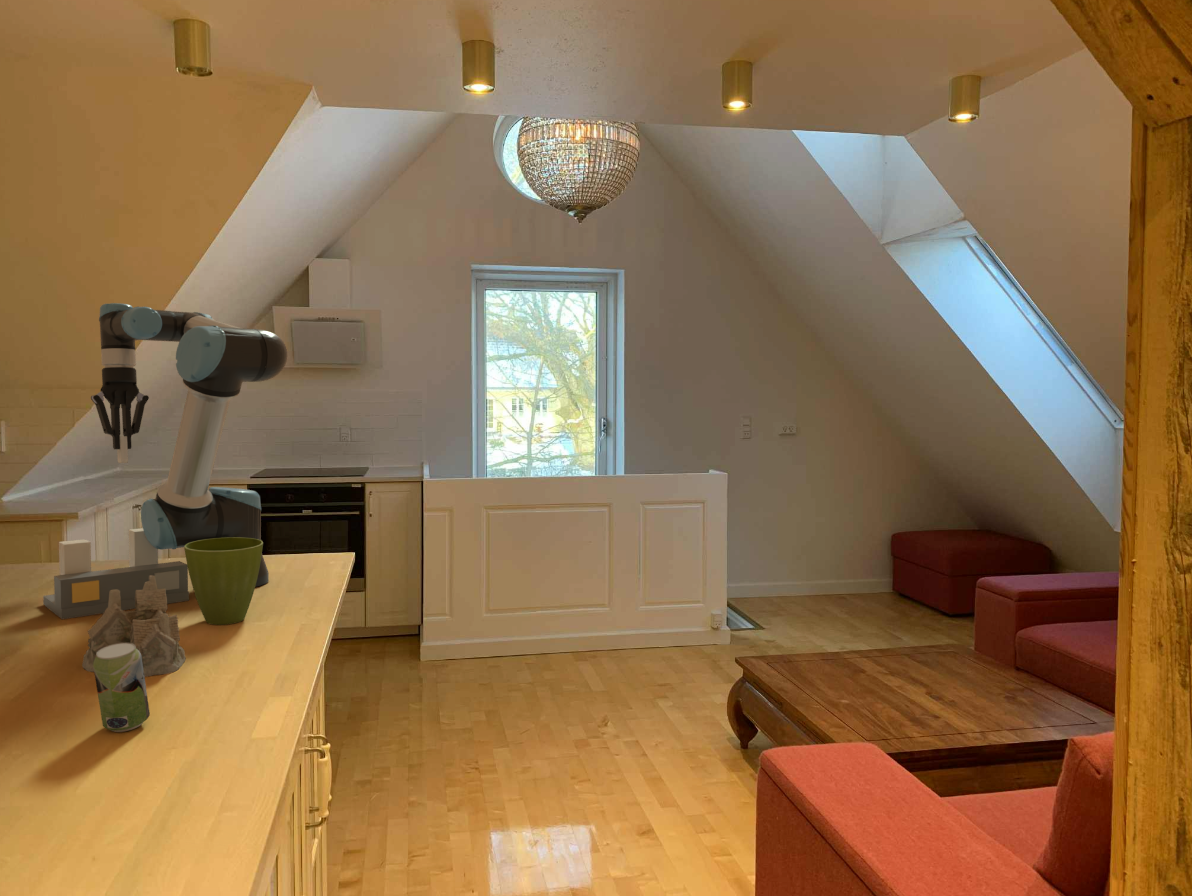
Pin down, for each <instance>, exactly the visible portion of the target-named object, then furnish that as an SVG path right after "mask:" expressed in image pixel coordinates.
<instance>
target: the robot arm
mask: <svg viewBox="0 0 1192 896" xmlns="http://www.w3.org/2000/svg"><path fill="white" fill-rule="evenodd" d="M98 317H99V318H98V321H99V331H100V332H99V335H100V349H101V350H100V354H101V357H100V359H101V366H103V368H101V381H102V385H101V388H100V391H99V392H98V393H96V394H94V395H91V396H90V399H91V401H92V402H93V404H94V405H95V407H96V411H97V414H98V417H99V420H100V424H101V427H102V430H103V433H104V434H105V435H109V436H111V437H112V448H113V450H116V451H117V453H116V454H117V455H116V456H117V463H118V464H125V463H126V464H128V463H129V455H128V454H129V453H128V452H129V451H128V450H131V449H132V436H133V435H135V434H139V433H140V428H141V424H142V421H143V420H142V419H143V415H144V410H145V405H146V403H148V400H149V399H150V397H149V395H146V394H144V393H142V392H140V389H139V387H138V385H137V384H138V383H137V381H138V380H137V369H136V368H135V367H136V366H137V358H136V341H151V342H152V341H155V342H156V341H157V342H176V343H178V344H177V348H176V352H175V360H176V363H175V367H176V370H177V373H178V376H180V378H181V379H182V383H183V385H184V387H186V389H187V393H186V398H185V402H184V403H185V404H184V407H183V412H182V416H181V421H180V425H179V428H178V434H177V438H176V442H175V446H174V450H173V456H172V459H171V463H170V467H169V472H168V476H167V480H166V481H165V482H163V483H162V484H160V485H159V486H158V488H157V491H156V495H155V498H149V499H147V500H145V501H144V502H143V503H142V505H141V510H140V519H141V521H140V522H141V526H142V527H141V528H143V530H144V533H145V536H146V538H147V540H148V541H149V543H150V544H151V545H152V546H153V547H155V548H156V549H158V550H163V551H164V550H176V549H180V548H184V546H185V545H186V544H188V543H190V542H194V541H198V540H204V539H213V538H227V537H242V538H254V539H259V540H261V541H262V539H261V537H262V535H261V534H262V533H261V530H262V529H261V527H262V522H261V521H262V519H261V518H262V517H261V516H262V515H261V514H262V513H261V512H262V506H261V505H262V504H261V495H260V494H259V493H258V492H257V491H256V490H252V489H251V490H250V489H245V488H244V489H243V488H237V487H235V488H234V487H222V486H220V487H219V486H214V487H212V486H211V487H209V486H210V482H211V478H212V473H213V470H214V465H215V461H216V458H217V454H218V450H219V446H220V442H221V437H222V435H223V434H222V433H223V431H224V425H225V422H226V417H227V413H228V409H229V406H230V402H231V400H232V399H233V398H236V397H238V396H239V394H240V392H241V388H242V385H243V383H248V382H249V383H254V382H256V383H261V382H265V381H268V380H271V379H274V378H275V377H276V376H278V375H279V374H280V373H281V372H282V371H283V370H284V368H285V366H286V363H287V362H288V348H287V346H286V344H285V343H284V340H283V339H282V338H281V337H280V336H278V335H277V334H275V333H274V332H271V331H269V330H266V329H259V328H243V327H238V326H236V325H233V324H232V325H231V324H228V323H225V322H222V321H219V320H215V319H214V318H213V316H211V315H210V314H207V313H201V312H195V311H194V312H191V311H190V312H187V311H175V310H174V311H173V310H163V309H154V308H152V307H149V306H135V307H133V305H131V304H127V303H120V302H118V303H117V302H115V303H114V302H111V303H103V304H101V305H100V307H99V316H98ZM105 399H106V401H107V402H108V403H109V409H110V418H109V415H108V411H107V409H106V405H105V402H104V401H105ZM135 399H136V404H135V409H134V413H133V418H132V412H131V409H132V403H133V402H134V400H135ZM120 410H121V412H120ZM121 416H122V417H121ZM121 418H122V435H123V436H121ZM110 421H111V422H110ZM269 579H270V578H269V570H268V567H267V564H266V561H265V558H264V556H263V554H262V555H261V562H260V568H259V573H258V577H257V581H256V585H255V588H256V587H260V586H263V585H266V584H267V583H269V581H270V580H269Z"/></svg>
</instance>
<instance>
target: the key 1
mask: <svg viewBox="0 0 1192 896" xmlns="http://www.w3.org/2000/svg"><path fill="white" fill-rule="evenodd" d="M91 545H92V543H91V541H90V540H87V539H75V540H65V541H64V540H63V541H58V551H59V552H58V556H59V557H58V558H59V575H66V574H75V573H83V572H91V571H92V546H91Z"/></svg>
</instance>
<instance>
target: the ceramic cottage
mask: <svg viewBox="0 0 1192 896" xmlns="http://www.w3.org/2000/svg"><path fill="white" fill-rule="evenodd" d="M135 607H136V608H135V609H134V610H128V611H127V610H121V597H120V591H119V590H117V589H115V590H110V592H109V603H108V608H107V609H106V610H105V613H102V614H101V617H99V618H98V619H97V620H96V622H95V624H94V625H92V627H91V628H90V629H88V630H87V633H88V635H89V638H88V640H87V646H88V649H87V650H86V652H85V654H84V655H83V658H82V659H83V660H82V664H81V666H82V669H84V670H85V671H87V672H91V673H92V672H93V673H94V667H93V663H94V660H95V658H96V657H97V656H96V654H97V652H98V651H99V650H100V649H102V648H104V647H106V646H109V645H112V644H117V643H132V644H134V645H135V647H136V649H137V650H139V652H140V653H141V657H142V664H143V671H144V678H147V677H152V676H156V675H159V676H161V675H167V674H171V673H175V672H177V671H178V670H179V669H181V667H182V666H183V664H184V663H185V661H186V652H185V649H184V648H183V646H182V645H181V646H180V643H179V641H180V640H181V637H180V629H179V628H180V627H179V625H178V624H179V618H178V615H177V614H173V615H170V616H169V614H168V613H166V612H167V610H168V604H167V597H166V590H165V588H164V589H157V584H156V579H155V576H152V575H150V576H149V581H147V582H145V584H144V587H143V589H142V590H136V592H135Z"/></svg>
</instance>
